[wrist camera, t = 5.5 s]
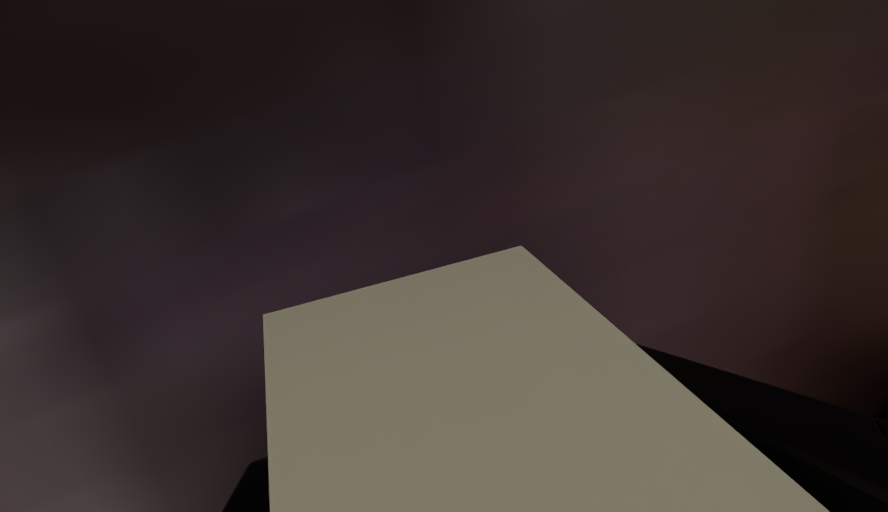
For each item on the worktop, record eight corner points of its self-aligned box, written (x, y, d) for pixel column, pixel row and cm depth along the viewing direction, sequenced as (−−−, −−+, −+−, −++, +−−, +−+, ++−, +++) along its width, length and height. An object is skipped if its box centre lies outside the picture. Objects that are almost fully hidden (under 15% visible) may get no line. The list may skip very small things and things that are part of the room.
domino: (262, 314, 11) (298, 1249, 3) (521, 245, 12) (1120, 761, 4) (291, 403, 11) (384, 1320, 3) (530, 331, 12) (1032, 907, 4)
